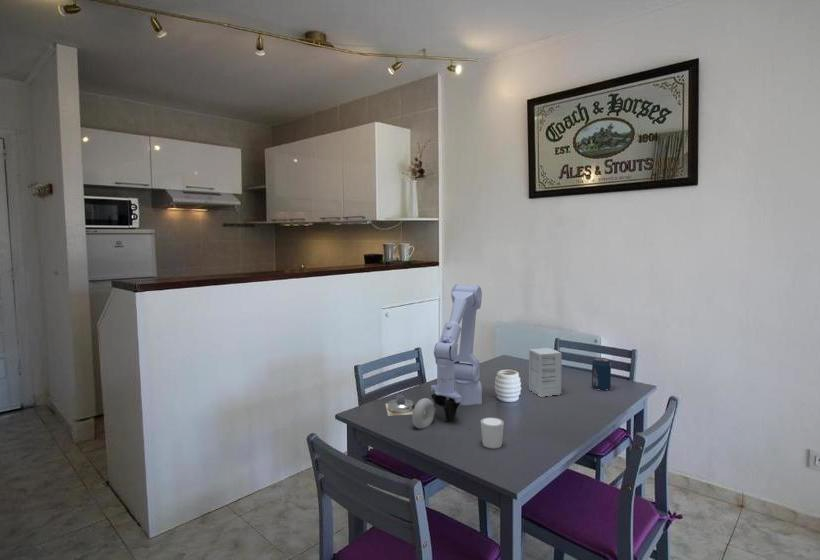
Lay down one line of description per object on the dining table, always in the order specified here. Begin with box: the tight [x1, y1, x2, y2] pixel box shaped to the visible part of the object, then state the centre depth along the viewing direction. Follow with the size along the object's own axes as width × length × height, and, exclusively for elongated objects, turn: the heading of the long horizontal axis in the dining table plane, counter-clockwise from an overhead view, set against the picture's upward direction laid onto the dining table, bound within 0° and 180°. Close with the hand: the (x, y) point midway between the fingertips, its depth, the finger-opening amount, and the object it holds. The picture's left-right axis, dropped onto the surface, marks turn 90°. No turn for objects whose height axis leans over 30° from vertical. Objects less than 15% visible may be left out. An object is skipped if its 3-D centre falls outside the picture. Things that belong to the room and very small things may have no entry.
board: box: [384, 402, 436, 417], centre depth 169 cm, size 22×12×1 cm, turn 97°
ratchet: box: [387, 394, 435, 413], centre depth 169 cm, size 21×9×4 cm, turn 97°
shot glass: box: [480, 416, 505, 449], centre depth 141 cm, size 7×7×7 cm
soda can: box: [591, 357, 612, 390], centre depth 190 cm, size 7×7×12 cm
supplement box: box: [528, 347, 563, 398], centre depth 186 cm, size 10×9×17 cm
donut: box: [411, 397, 436, 430], centre depth 153 cm, size 10×4×10 cm, turn 142°
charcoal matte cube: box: [435, 401, 458, 423], centre depth 159 cm, size 5×5×6 cm
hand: (446, 417), depth 159 cm, fingers closed on charcoal matte cube, 5 cm apart
